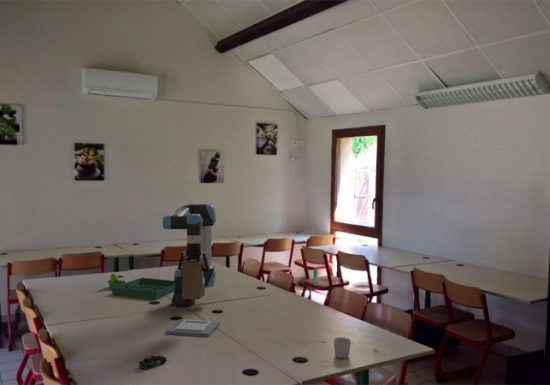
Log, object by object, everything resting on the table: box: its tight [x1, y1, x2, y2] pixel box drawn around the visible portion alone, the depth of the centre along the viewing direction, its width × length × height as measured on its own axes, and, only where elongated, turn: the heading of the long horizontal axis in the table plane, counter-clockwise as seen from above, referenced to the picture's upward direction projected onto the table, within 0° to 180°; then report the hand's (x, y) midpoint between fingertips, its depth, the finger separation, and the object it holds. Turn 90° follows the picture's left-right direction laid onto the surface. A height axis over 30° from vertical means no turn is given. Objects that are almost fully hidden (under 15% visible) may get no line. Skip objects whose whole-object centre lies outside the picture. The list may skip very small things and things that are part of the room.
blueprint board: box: [165, 319, 221, 337], centre depth 271 cm, size 24×20×2 cm
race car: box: [138, 354, 170, 370], centre depth 222 cm, size 15×7×4 cm, turn 145°
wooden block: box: [182, 260, 206, 301], centre depth 269 cm, size 10×10×20 cm
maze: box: [111, 277, 174, 300], centre depth 351 cm, size 35×35×6 cm
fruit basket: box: [107, 273, 126, 289], centre depth 359 cm, size 11×9×11 cm
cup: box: [333, 336, 352, 359], centre depth 234 cm, size 11×8×8 cm
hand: (193, 283), depth 269 cm, fingers closed on wooden block, 10 cm apart
